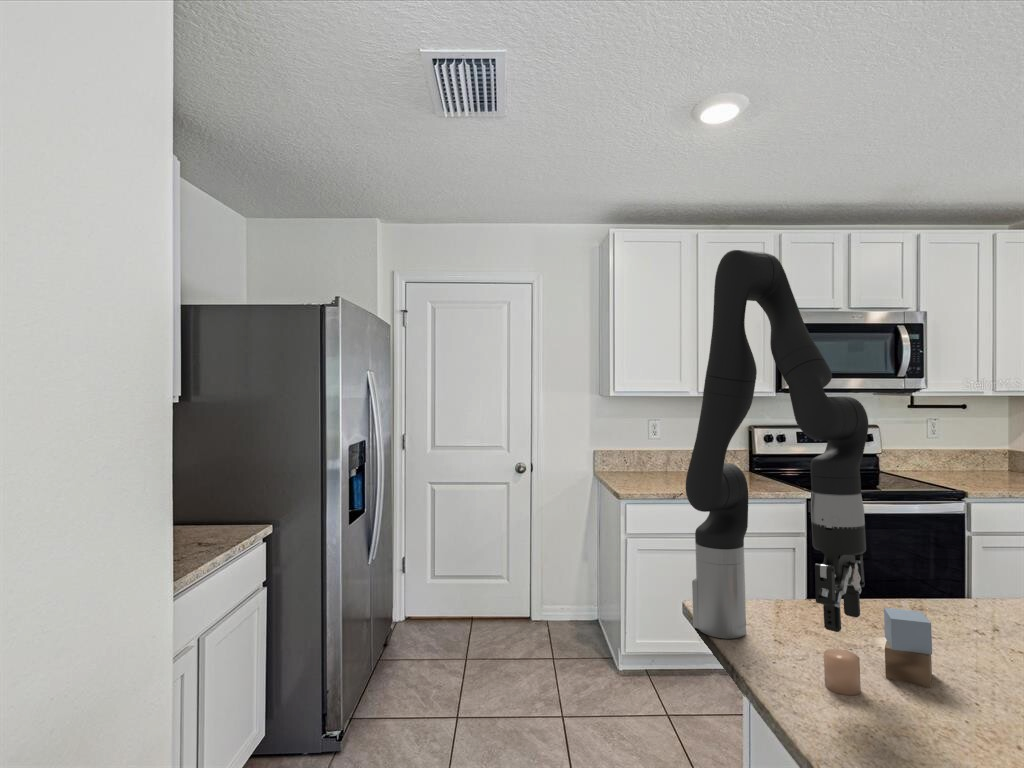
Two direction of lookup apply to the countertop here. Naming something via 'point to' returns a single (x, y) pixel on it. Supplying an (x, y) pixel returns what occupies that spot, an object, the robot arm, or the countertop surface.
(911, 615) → the tower top
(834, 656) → the tan rounded cylinder
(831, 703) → the countertop surface
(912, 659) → the tower base
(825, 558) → the robot arm
